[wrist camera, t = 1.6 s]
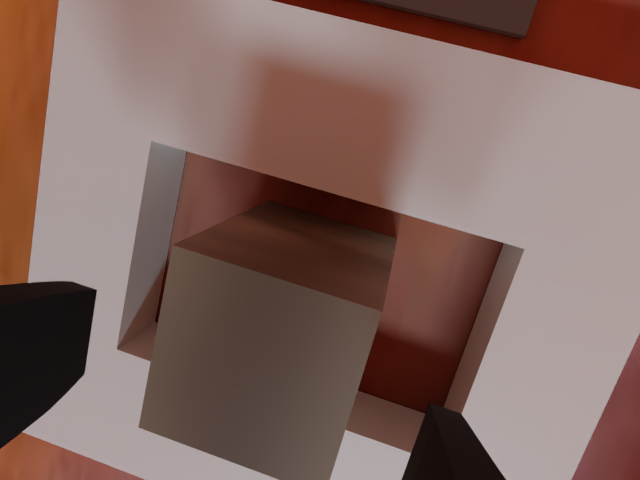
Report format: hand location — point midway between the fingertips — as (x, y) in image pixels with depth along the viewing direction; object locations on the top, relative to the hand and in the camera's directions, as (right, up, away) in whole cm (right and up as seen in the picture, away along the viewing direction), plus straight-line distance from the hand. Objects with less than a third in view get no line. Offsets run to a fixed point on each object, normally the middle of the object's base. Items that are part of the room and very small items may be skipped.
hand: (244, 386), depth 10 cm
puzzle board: (+1, +2, +7) cm, 8 cm away
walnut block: (+1, +2, +7) cm, 8 cm away
